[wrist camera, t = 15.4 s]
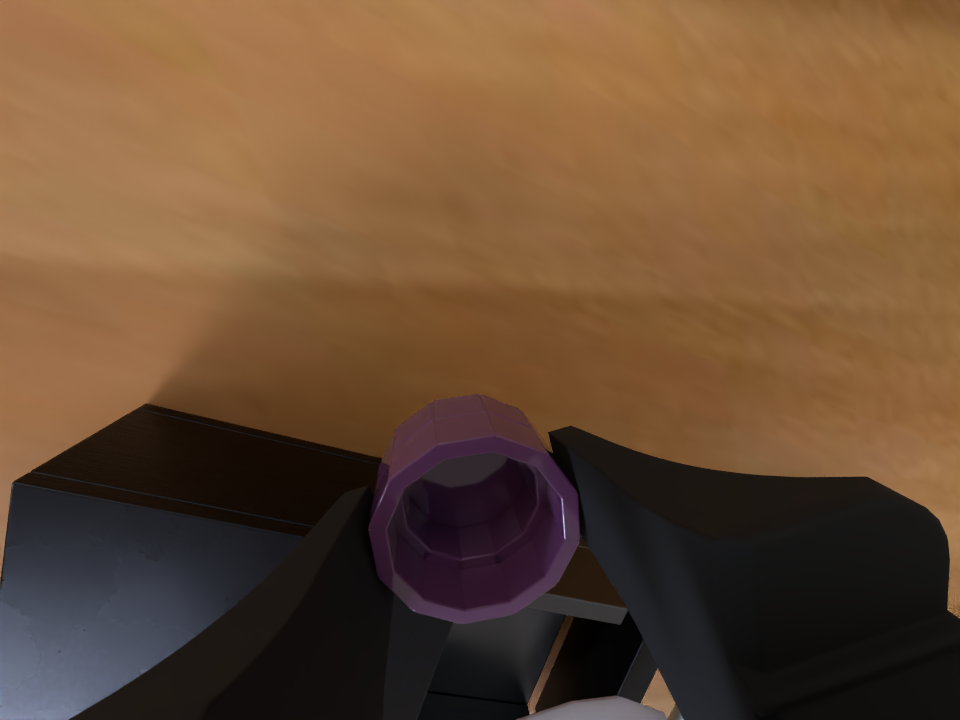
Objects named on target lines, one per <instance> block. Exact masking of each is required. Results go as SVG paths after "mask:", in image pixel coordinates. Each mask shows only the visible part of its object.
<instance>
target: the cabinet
mask: <svg viewBox="0 0 960 720" xmlns="http://www.w3.org/2000/svg"><path fill="white" fill-rule="evenodd" d="M381 461H382V458H377V457H373V456H369V455H364V454H360V453H356V452H351V451H347V450H343V449H339V448H334V447H330V446H326V445H321V444H317V443H313V442H309V441H304V440H300V439H296V438H291V437H287V436H283V435H279V434H274V433H270V432H266V431H261V430H257V429H253V428H248V427H244V426H240V425H236V424H231V423H227V422H223V421H218V420H214V419H210V418H206V417H201V416H197V415H193V414H188V413H184V412H180V411H175V410H171V409H167V408H163V407H158V406H154V405H150V404H144V405H143V406H141V407H139V408H138V409H136V410H134V411H132V412H131V413H129V414H127V415H125V416H124V417H122V418H120V419H119V420H117V421H115V422H113V423H112V424H110V425H108V426H107V427H105V428H103V429H102V430H100V431H98V432H96V433H95V434H93V435H91V436H90V437H88V438H86V439H85V440H83V441H81V442H79V443H78V444H76V445H74V446H73V447H71V448H69V449H68V450H66V451H64V452H62V453H61V454H59V455H57V456H56V457H54V458H52V459H50V460H49V461H47V462H45V463H44V464H42V465H40V466H39V467H37V468H35V469H33V470H32V471H31V472H30V473H27V474H25V475H24V476H22V477H20V478H18V479H17V480H15V481H14V482H13V483H12V489H11V497H10V506H9V514H8V523H7V531H6V540H5V548H4V556H3V565H2V573H1V582H0V720H69V719H70V718H72V717H74V716H75V715H77V714H79V713H80V712H82V711H84V710H86V709H87V708H89V707H91V706H92V705H94V704H96V703H97V702H99V701H101V700H102V699H104V698H106V697H107V696H109V695H111V694H112V693H114V692H115V691H117V690H118V689H120V688H122V687H123V686H125V685H126V684H128V683H129V682H131V681H132V680H134V679H135V678H137V677H138V676H140V675H141V674H143V673H144V672H146V671H147V670H149V669H151V668H152V667H154V666H155V665H156V664H158V663H159V662H161V661H162V660H164V659H165V658H166V657H168V656H169V655H171V654H172V653H174V652H175V651H176V650H178V649H179V648H181V647H182V646H183V645H185V644H186V643H187V642H189V641H190V640H191V639H193V638H194V637H195V636H196V635H198V634H199V633H200V632H202V631H203V630H204V629H206V628H207V627H208V626H209V625H211V624H212V623H213V622H215V621H216V620H217V619H218V618H220V617H221V616H222V615H224V614H225V613H226V612H227V611H229V610H230V609H231V608H232V607H233V606H235V605H236V604H237V603H238V602H239V601H240V600H241V599H243V598H244V597H245V596H246V595H247V594H248V593H249V592H251V591H252V590H253V589H254V588H255V587H256V586H257V585H258V584H259V583H260V582H262V581H263V580H264V579H265V578H266V577H267V576H268V575H269V574H270V573H271V572H272V571H273V570H274V569H275V568H276V567H277V566H278V565H279V564H280V563H281V562H282V561H283V560H284V559H285V558H286V556H287V555H288V554H289V553H290V552H291V551H292V550H293V549H294V548H295V547H296V546H297V545H298V544H299V543H300V542H301V541H302V540H303V539H304V537H305V536H306V535H307V534H308V533H309V532H310V531H311V530H312V528H313V527H314V526H315V525H316V524H317V523H318V522H319V521H320V519H321V518H322V517H323V516H324V515H325V514H326V513H327V511H328V510H329V509H330V508H331V507H332V506H333V505H334V504H335V502H336V501H337V500H338V499H339V498H340V497H341V496H342V495H343V494H344V493H346V492H348V491H352V490H355V489H358V488H362V487H365V486H368V485H369V486H370V489H371V491H372V494H373V497H374V493H375V486H376V481H377V475H378V469H379V466H380V463H381ZM452 624H453V622H452V621H448V620H444V619H440V618H436V617H432V616H428V615H424V614H420V613H416V612H414V611H412V610H411V609H410V608H409V607H408V606H407V605H406V604H405V603H404V602H402V601H401V600H400V599H399V598H398V597H397V596H396V595H395V594H394V600H393V610H392V619H391V629H390V638H389V647H388V656H387V665H386V675H385V687H384V705H383V720H417V719H418V716H419V713H420V711H421V708H422V705H423V702H424V700H425V697H426V694H427V692H428V689H429V686H430V684H431V681H432V678H433V675H434V673H435V670H436V667H437V665H438V662H439V659H440V657H441V654H442V651H443V648H444V646H445V643H446V640H447V638H448V635H449V632H450V629H451V627H452Z"/></svg>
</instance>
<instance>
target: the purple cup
mask: <svg viewBox="0 0 960 720" xmlns="http://www.w3.org/2000/svg"><path fill="white" fill-rule="evenodd" d="M368 533H369V538H370V543H371V548H372V553H373V558H374V563H375V568H376V573H377V576H378V578H379V579H380V580H381V581H382V582H383V583H384V584H385V585H386V586H387V587H388V588H389V589H390V590H391V591H392V592H393V593H394V594H395V595H396V596H397V597H398V598H399V599H400V600H401V601H402V602H404V603H405V604H406V605H407V606H408V607H409V608H410V609H411V610H412V611H414V612H416V613H420V614H424V615H428V616H432V617H436V618H440V619H444V620H448V621H452V622H455V623H459V624H463V623H464V624H468V623H473V622H478V621H483V620H488V619H493V618H498V617H503V616H508V615H513V614H514V613H517V612H519V611H520V610H522V609H523V608H524V607H526V606H527V605H529V604H530V603H531V602H533V601H534V600H536V599H537V598H538V597H540V596H541V595H543V594H544V593H546V592H547V591H548V590H550V589H551V588H553V587H554V586H555V585H556V584H557V583H558V582H559V580H560V578H561V576H562V575H563V573H564V571H565V569H566V567H567V565H568V563H569V561H570V560H571V558H572V556H573V554H574V552H575V550H576V548H577V546H578V545H579V543H580V539H581V533H580V515H579V497H578V492H577V489H576V488H575V486H574V485H573V483H572V482H571V480H570V479H569V477H568V476H567V474H566V473H565V471H564V470H563V468H562V466H561V465H560V463H559V462H558V460H557V459H556V457H555V456H554V454H553V452H552V451H551V449H550V447H549V446H548V444H547V443H546V441H545V440H544V438H543V437H542V436H541V434H540V433H539V432H538V431H537V429H536V428H535V427H534V425H533V424H532V423H531V421H530V420H529V419H528V418H527V416H526V415H525V414H524V412H523V411H522V410H520V409H519V408H516V407H513V406H511V405H508V404H505V403H503V402H500V401H498V400H495V399H492V398H490V397H487V396H484V395H479V394H472V395H465V396H458V397H451V398H445V399H438V400H434V401H433V402H430V403H429V404H428V405H426V406H425V407H424V408H422V409H421V410H420V411H418V412H417V413H416V414H414V415H413V416H411V417H410V418H409V419H407V420H406V421H405V422H403V423H402V424H401V425H399V426H398V427H397V429H395V430H394V432H393V435H392V437H391V439H390V442H389V444H388V447H387V449H386V451H385V454H384V456H383V458H382V461H381V463H380V466H379V469H378V475H377V481H376V486H375V493H374V497H373V503H372V508H371V514H370V520H369V525H368Z"/></svg>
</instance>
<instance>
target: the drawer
mask: <svg viewBox="0 0 960 720" xmlns="http://www.w3.org/2000/svg"><path fill="white" fill-rule="evenodd" d="M566 615H567V616H573V617H574V619H573V622H572V624H571V626H570V629H569V631H568V633H567V636H566V638H565V640H564V642H563V645H562V647H561V649H560V652H559V654H558V656H557V659H556V661H555V663H554V665H553V668H552V670H551V672H550V675H549V677H548V679H547V681H546V684H545V686H544V688H543V691H542V693H541V695H540V698H539V700H538V702H537V704H536V707H535V710H536V713H537V712H540V711H543V710H546V709H549V708H552V707H555V706H558V705H561V704H564V703H567V702H570V701H576V700H584V699H592V698H600V697H608V696H619V697H623V698H626V699H629V700H632V701H634V702H637V703H641V701H642V699H643V697H644V695H645V693H646V691H647V689H648V687H649V685H650V683H651V681H652V679H653V677H654V674H655V672H656V670H657V668H658V667H657V665H656V663H655V661H654V659H653V657H652V655H651V653H650V651H649V649H648V647H647V645H646V643H645V641H644V639H643V637H642V635H641V633H640V631H639V629H638V627H637V625H636V623H635V621H634V619H633V618H632V616H631V614H630V612H629V611H628V609H627V607H626V605H625V604H624V602H623V600H622V599H621V597H620V596H619V594H618V593H617V591H616V589H615V588H614V586H613V585H612V583H611V582H610V580H609V578H608V577H607V575H606V574H605V572H604V571H603V569H602V568H601V566H600V564H599V563H598V561H597V560H596V558H595V557H594V555H593V553H592V552H591V550H590V549H589V547H588V545H587V544H586V542H585V541H584V539H583V538H582V537H581V539H580V543H579V545H578V546H577V548H576V550H575V552H574V554H573V556H572V558H571V560H570V561H569V563H568V565H567V567H566V569H565V571H564V573H563V575H562V576H561V578H560V580H559V582H558V583H557V584H556V585H555V586H554V587H553V588H551V589H550V590H548V591H547V592H546V593H544V594H543V595H541V596H540V597H538V598H537V599H536V600H534V601H533V602H531V603H530V604H529V605H527V606H526V607H524V608H523V609H522V610H520V611H519V612H517V613H514V614H513V615H508V616H503V617H498V618H493V619H488V620H483V621H478V622H473V623H468V624H464V623H463V624H459V623H455V622H453V624H452V627H451V629H450V632H449V635H448V638H447V640H446V643H445V646H444V648H443V651H442V654H441V657H440V659H439V662H438V665H437V667H436V670H435V673H434V675H433V678H432V681H431V684H430V686H429V689H428V692H427V694H426V697H425V700H424V702H423V705H422V708H421V711H420V713H419V716H418V719H417V720H516V719H519V718H522V717H525V716H528V715H529V710H528V707H527V704H528V702H529V700H530V697H531V695H532V693H533V690H534V688H535V686H536V683H537V681H538V679H539V676H540V674H541V672H542V669H543V667H544V665H545V662H546V660H547V658H548V655H549V653H550V651H551V648H552V646H553V644H554V642H555V639H556V637H557V635H558V632H559V630H560V628H561V625H562V623H563V621H564V618H565V616H566ZM668 720H683V718H682V716H681V714H680V711H679V709H678V707H677V705H676V704H675V706H674V708H673V710H672V712H671V714H670V716H669V717H668Z"/></svg>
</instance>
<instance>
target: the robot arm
mask: <svg viewBox="0 0 960 720" xmlns="http://www.w3.org/2000/svg"><path fill="white" fill-rule="evenodd" d="M548 434H549V438H550V442H551V447H552V451H553V454H554V456H555V457H556V459H557V460H558V462H559V463H560V465H561V466H562V468H563V470H564V471H565V473H566V474H567V476H568V477H569V479H570V480H571V482H572V483H573V485H574V486H575V488H576V489H577V492H578V497H579V515H580V533H581V536H582V538H583V539H584V541H585V542H586V544H587V545H588V547H589V549H590V550H591V552H592V553H593V555H594V557H595V558H596V560H597V561H598V563H599V564H600V566H601V568H602V569H603V571H604V572H605V574H606V575H607V577H608V578H609V580H610V582H611V583H612V585H613V586H614V588H615V589H616V591H617V593H618V594H619V596H620V597H621V599H622V600H623V602H624V604H625V605H626V607H627V609H628V611H629V612H630V614H631V616H632V618H633V619H634V621H635V623H636V625H637V627H638V629H639V631H640V633H641V635H642V637H643V639H644V641H645V643H646V645H647V647H648V649H649V651H650V653H651V655H652V657H653V659H654V661H655V663H656V665H657V667H658V669H659V671H660V673H661V675H662V677H663V679H664V681H665V683H666V685H667V687H668V689H669V691H670V693H671V695H672V697H673V699H674V701H675V703H676V705H677V707H678V709H679V711H680V714H681V716H682V718H683V720H960V619H959V618H958V617H956V616H955V615H953V614H952V613H951V612H949V611H948V610H947V601H948V583H949V565H950V557H949V547H948V540H947V536H946V534H945V531H944V529H943V527H942V525H941V523H940V521H939V519H938V518H937V517H935V516H934V515H933V514H932V513H931V512H930V511H929V510H928V509H927V508H926V507H924V506H922V505H920V504H918V503H916V502H914V501H912V500H911V499H909V498H907V497H905V496H903V495H901V494H899V493H897V492H895V491H893V490H891V489H890V488H888V487H886V486H884V485H882V484H880V483H878V482H876V481H874V480H872V479H870V478H869V477H783V476H764V475H753V474H742V473H734V472H726V471H719V470H711V469H706V468H700V467H694V466H690V465H685V464H681V463H676V462H672V461H668V460H664V459H660V458H657V457H653V456H650V455H647V454H644V453H641V452H637V451H634V450H632V449H629V448H626V447H623V446H620V445H618V444H615V443H613V442H610V441H608V440H605V439H603V438H600V437H598V436H595V435H593V434H591V433H588V432H586V431H583V430H581V429H578V428H576V427H573V426H568V427H564V428H561V429H558V430H554V431H551V432H548ZM372 503H373V494H372V491H371V489H370V486H369V485H368V486H365V487H362V488H358V489H355V490H352V491H348V492H346V493H344V494H343V495H342V496H341V497H340V498H339V499H338V500H337V501H336V502H335V504H334V505H333V506H332V507H331V508H330V509H329V510H328V511H327V513H326V514H325V515H324V516H323V517H322V518H321V519H320V521H319V522H318V523H317V524H316V525H315V526H314V527H313V528H312V530H311V531H310V532H309V533H308V534H307V535H306V536H305V537H304V539H303V540H302V541H301V542H300V543H299V544H298V545H297V546H296V547H295V548H294V549H293V550H292V551H291V552H290V553H289V554H288V555H287V556H286V558H285V559H284V560H283V561H282V562H281V563H280V564H279V565H278V566H277V567H276V568H275V569H274V570H273V571H272V572H271V573H270V574H269V575H268V576H267V577H266V578H265V579H264V580H263V581H262V582H260V583H259V584H258V585H257V586H256V587H255V588H254V589H253V590H252V591H251V592H249V593H248V594H247V595H246V596H245V597H244V598H243V599H241V600H240V601H239V602H238V603H237V604H236V605H235V606H233V607H232V608H231V609H230V610H229V611H227V612H226V613H225V614H224V615H222V616H221V617H220V618H218V619H217V620H216V621H215V622H213V623H212V624H211V625H209V626H208V627H207V628H206V629H204V630H203V631H202V632H200V633H199V634H198V635H196V636H195V637H194V638H193V639H191V640H190V641H189V642H187V643H186V644H185V645H183V646H182V647H181V648H179V649H178V650H176V651H175V652H174V653H172V654H171V655H169V656H168V657H166V658H165V659H164V660H162V661H161V662H159V663H158V664H156V665H155V666H154V667H152V668H151V669H149V670H147V671H146V672H144V673H143V674H141V675H140V676H138V677H137V678H135V679H134V680H132V681H131V682H129V683H128V684H126V685H125V686H123V687H122V688H120V689H118V690H117V691H115V692H114V693H112V694H111V695H109V696H107V697H106V698H104V699H102V700H101V701H99V702H97V703H96V704H94V705H92V706H91V707H89V708H87V709H86V710H84V711H82V712H80V713H79V714H77V715H75V716H74V717H72V718H70V719H69V720H383V705H384V687H385V675H386V665H387V656H388V647H389V638H390V629H391V619H392V610H393V600H394V593H393V592H392V591H391V590H390V589H389V588H388V587H387V586H386V585H385V584H384V583H383V582H382V581H381V580H380V579H379V578H378V576H377V573H376V568H375V563H374V558H373V553H372V548H371V543H370V538H369V533H368V525H369V520H370V514H371V508H372ZM516 720H668V719H667V718H666V716H665V714H664V713H663V712H661V711H659V710H656V709H653V708H651V707H648V706H645V705H642V704H640V703H637V702H634V701H632V700H629V699H626V698H623V697H619V696H608V697H600V698H592V699H584V700H576V701H570V702H567V703H564V704H561V705H558V706H555V707H552V708H549V709H546V710H543V711H540V712H537V713H534V714H531V715H528V716H525V717H522V718H519V719H516Z"/></svg>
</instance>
